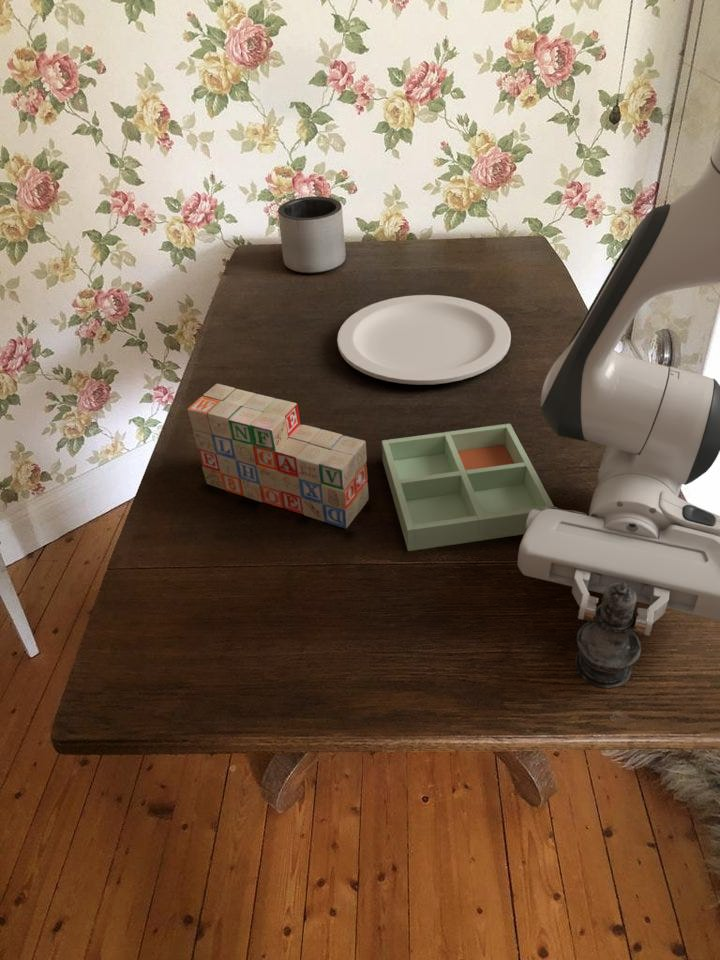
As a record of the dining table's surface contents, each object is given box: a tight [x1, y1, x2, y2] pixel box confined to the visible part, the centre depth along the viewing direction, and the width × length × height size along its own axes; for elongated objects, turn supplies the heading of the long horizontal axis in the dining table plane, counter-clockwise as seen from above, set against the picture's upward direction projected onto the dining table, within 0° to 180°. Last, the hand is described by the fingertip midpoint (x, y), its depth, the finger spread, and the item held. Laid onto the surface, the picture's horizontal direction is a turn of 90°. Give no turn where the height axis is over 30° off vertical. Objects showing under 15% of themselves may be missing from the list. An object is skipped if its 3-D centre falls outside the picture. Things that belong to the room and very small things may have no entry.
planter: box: [277, 195, 347, 275], centre depth 148 cm, size 13×12×11 cm
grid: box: [381, 423, 555, 552], centre depth 94 cm, size 17×17×3 cm
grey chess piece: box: [575, 582, 642, 689], centre depth 70 cm, size 6×6×12 cm
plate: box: [336, 294, 512, 386], centre depth 123 cm, size 28×28×2 cm
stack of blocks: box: [187, 383, 370, 529], centre depth 93 cm, size 21×6×12 cm, turn 62°
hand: (614, 623), depth 69 cm, fingers closed on grey chess piece, 3 cm apart
